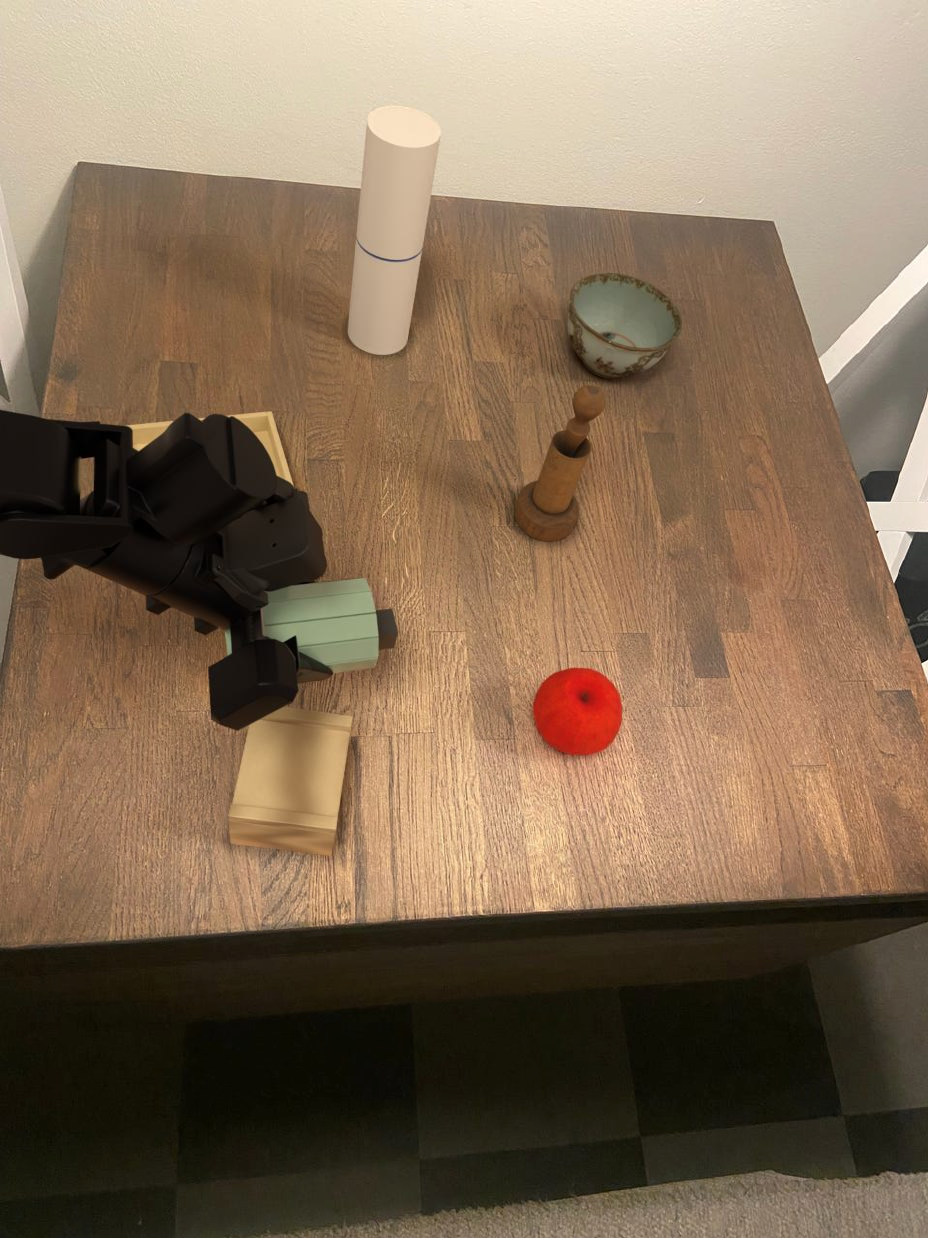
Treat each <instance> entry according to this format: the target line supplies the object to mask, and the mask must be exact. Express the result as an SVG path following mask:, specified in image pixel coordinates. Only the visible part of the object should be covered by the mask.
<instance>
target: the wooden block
mask: <svg viewBox="0 0 928 1238" xmlns="http://www.w3.org/2000/svg"><path fill="white" fill-rule="evenodd" d="M353 718H354V717H353V716H352V715H347V714H341V713H340V714H339V713H334V712H333V713H332V712H326V711H319V710H312V709H311V710H310V709H303V708H297V707H289V706H284V707H282V708H280V709H279V710H277V711H275V712H273V713H271V714H269V715H267V716H265V717H263V718H262V719H260V720H258V721H256V722H254V723H252V724H250V725H248V729H247V734H246V738H245V743H244V747H243V752H242V755H241V761H240V765H239V770H238V775H237V778H236V782H235V783H236V784H235V789H234V793H233V797H232V801H231V803H230V804H229V809H228V814H227V821H228V822H227V823H228V833H229V842H230V843H229V844H231V845H237V846H238V845H239V846H246V847H247V846H248V847H254V848H263V849H271V850H280V851H287V852H296V853H305V854H312V855H321V856H327V857H328V856H329V857H332V854H333V849H334V843H335V838H336V833H337V832H336V831H337V825H338V817H339V810H340V803H341V798H342V793H343V791H342V790H343V785H344V784H343V783H344V778H345V770H346V763H347V757H348V750H349V743H350V737H351V729H352V725H353V724H352V723H353Z"/></svg>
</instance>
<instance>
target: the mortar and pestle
mask: <svg viewBox="0 0 928 1238" xmlns="http://www.w3.org/2000/svg"><path fill="white" fill-rule="evenodd" d="M571 405H572V409H573V413H574V417H571V418H570V419H569V420H568V421H567V423H566V427H565V429H563V430H559V431H557V432H556V433H554V434H553V436H552V438H551V440H550V444H549V446H548V450H547V453H546V456H545V458H544V461H543V463H542V467H541V470H540V473H539V474H538V478H537V480H533V481H531V482H529V483H527V484H525V486H524V487H523V488H522V489H521V490H520V492H519V494H518V497H517V501H516V503H515V506H514V511H513V512H514V519H515V521H516V524H517V525H518V527H519V528H520V530H522V532H523V533H525V534H526V535H527V536H529V537H531V538H533V539H535V540H536V541H541V542H548V543H550V542H557V541H561V540H563V539H565V538H566V537H568V536H569V535H570V533H571V532H572V531H573V528H574V526H575V524H576V522H577V520H578V516H579V513H580V512H579V511H580V508H579V502H578V500H577V499H576V496H575V495H574V493H575V491H576V488H577V486H578V484H579V481H580V478H581V477H582V474H583V472H584V469H585V466H586V464H587V462H588V459H589V458H590V455H591V453H592V449H593V448H592V443H591V441H590V440H589V438H587V437H588V436H589V434H590V432H591V426H590V422H591V421H592V420H595V419H596V418H598V417H599V416H600V415H602V413H603V412H604V410H605V408H606V395H605V393H604V391H603V390H602V389H601V388H600V387H599V386H596V385H594V384H586V385H582V386H581V387H579V388H578V389H577V390H576V391H575V392H574V395H573V397H572V404H571Z"/></svg>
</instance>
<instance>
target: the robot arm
mask: <svg viewBox="0 0 928 1238" xmlns="http://www.w3.org/2000/svg"><path fill="white" fill-rule="evenodd" d="M198 418H199V417H196V416H195V415H193V414H192V413H190V412H184V413H183V414H181V415H180V416H178V417H177V418H176V419H174V420H172V421H173V422H172V423H171V424H170V425H169V426H168V428H167V429H166V430H165V432H163V433H162V434H161V435H160V436H158V437H157V438H156V439H154V440H153V441H152V442H150V443H149V444H148V445H146V446H145V447H144V448H142V449H141V450H140V451H138V450H136V449H134V448H133V430H132V428H130V427H128V426H126V425H121V424H108V423H101V422H100V421H99V420H97V421H96V420H95V421H74V420H65V419H64V420H63V419H53V418H45V417H41V416H36V415H32V414H26V413H22V412H21V413H20V412H14V411H10V410H4V409H0V556H4V557H9V558H12V559H18V560H36V559H37V560H38V559H40V560H41V563H42V569H43V576H44V578H45V579H47V580H50V581H52V580H56V579H57V578H59V577H60V576H61V575H63V574H64V573H66V572H67V571H68V570H70V569H71V568H74V567H75V566H77V567H80V568H82V569H84V570H86V571H89V572H91V573H93V574H96V575H98V576H100V577H102V578H104V579H107V580H109V581H112V582H114V583H116V584H118V585H119V586H120V585H121V586H122V587H125V588H127V589H130V590H132V591H135V592H136V593H139V594H141V595H143V596H145V611H147V612H149V613H151V614H153V615H156V616H160V615H161V614H163V613H165V612H166V611H168V610H169V609H171V608H172V609H174V610H176V611H178V612H180V613H183V614H186V615H188V616H190V617H191V618H193V629H194V632H195V633H197V634H200V635H203V636H205V637H206V636H208V635H210V634H211V633H213V632H214V631H216V630H218V629H220V628H221V629H230V635H231V649H232V653H231V654H230V655H228V656H226V657H225V658H224V657H223V658H221V659H219V660H218V661H216V662H214V663H212V664H210V665H209V666H208V667H207V671H208V674H207V675H208V691H209V706H210V707H209V711H210V712H209V713H210V720H211V721H212V722H213V723H215V724H218V725H219V726H222V727H224V728H228V729H230V730H234V731H237V732H239V731H241V730H242V729H244V728H246V727H249V725H250V724H252V723H254V722H256V721H258V720H260V719H262V718H263V717H265V716H267V715H269V714H271V713H273V712H275V711H277V710H279V709H280V708H282V707H287V706H288V705H290V704H292V703H294V701H295V699H296V697H297V696H298V694H299V690H300V688H299V684H307V683H316V682H323V681H326V680H328V679H329V678H331V677H333V676H334V673H333V671H332V670H331V669H330V668H329V667H327V666H326V665H324V664H323V663H321V662H319V661H317V660H315V659H313V658H311V657H309V656H307V655H305V654H303V653H301V652H299V651H298V643H297V637H296V636H293V637H291V638H290V639H288V640H286V641H284V642H281V641H279V640H277V639H272V638H270V637H268V636H266V631H265V620H264V610H263V607H265V606H266V605H268V604H269V603H268V593H266V592H264V591H267V592H272V591H276V590H279V589H282V588H286V587H289V586H292V585H296V584H306V583H315V582H317V580H318V579H320V578H321V577H323V576H324V575H325V573H326V571H327V569H328V562H327V560H328V559H327V557H326V554H325V546H324V539H323V538H324V537H323V536H324V533H323V532H324V531H323V529H322V527H321V525H320V524H319V522H318V521H317V519H316V517H315V516H314V514H313V513H312V511H311V508H310V501H309V494H308V492H307V491H304V490H299V489H298V488H297V487H296V488H295V486H294V487H293V485H294V484H293V485H292V484H291V483H290V482H289V481H287V480H285V479H283V478H281V477H279V476H277V475H276V471H275V468H274V464H273V462H272V460H271V458H270V455H269V454H268V452H267V450H266V449H265V447H264V445H263V444H262V443H261V441H260V440H259V439H258V437H257V436H256V435H255V434H254V433H253V432H252V431H251V430H250V429H249V427H247V426H246V425H245V424H244V423H243V422H241V421H240V420H239V419H237V418H235V417H234V416H231V417H228V415H224V414H221V413H213V414H212V413H211V414H208V415H207V416H206V417H204V418H205V419H203V420H202V421H201V420H199V419H198ZM90 458H93V489H92V491H91V492H89V493H87V494H86V495H85V496H84V497H82V499H81V493H82V492H81V490H82V489H81V488H82V487H81V486H82V461H83V460H84V459H90Z"/></svg>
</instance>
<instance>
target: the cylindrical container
mask: <svg viewBox="0 0 928 1238" xmlns="http://www.w3.org/2000/svg"><path fill="white" fill-rule="evenodd" d="M365 128H366V129H365V139H364V150H363V160H362V170H361V182H360V192H359V203H358V214H357V226H356V235H355V236H356V237H355V245H354V246H355V247H354V248H355V249H354V257H353V258H354V259H353V270H352V280H351V291H350V299H349V300H350V301H349V312H348V323H347V336H348V338H349V340H350V341H351V343H352V344H353V345H354V346H355V347H357V348H358V349H359V350H361V351H364V352H365V353H369V354H372V355H376V356H388V355H392V354H396V353H399V352H400V351H401V350H403V349H404V348H405V347H406V346H407V344H408V340H409V333H410V328H411V322H412V315H413V311H414V310H413V309H414V304H415V297H416V291H417V285H418V278H419V273H420V272H419V271H420V266H421V259H422V254H423V247H424V241H425V235H426V229H427V222H428V216H429V211H430V205H431V197H432V191H433V187H434V181H435V180H434V179H435V173H436V167H437V161H438V154H439V148H440V142H441V135H442V130H441V126H440V124H439V123H438V122H437V121H436V120H435V119H434V118H433V117H431V116H430V115H428V114H427V113H425V112H423V111H421V110H419V109H416V108H413V107H408V106H403V105H385V106H381V107H378V108H375V109H373V111H371V112H370V113H369V114H368V116H367V119H366V126H365Z"/></svg>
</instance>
